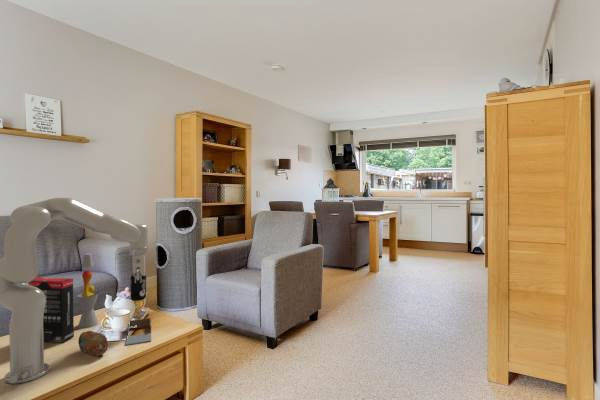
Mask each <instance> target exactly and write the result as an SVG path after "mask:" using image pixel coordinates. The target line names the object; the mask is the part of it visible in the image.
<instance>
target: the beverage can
mask: <svg viewBox="0 0 600 400" xmlns="http://www.w3.org/2000/svg"><path fill="white" fill-rule="evenodd" d="M139 276H141V275H139ZM139 278H140V277H139ZM141 282H142V291H138V292H134V283H135V277H134V276H133V273H131V276H130V297H129V299H130V300H131V301H134V302H140V301H143V300H145V299H146V297H147V275H146V274H145V276H143V275H142V277H141Z"/></svg>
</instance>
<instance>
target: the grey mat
mask: <svg viewBox="0 0 600 400" xmlns="http://www.w3.org/2000/svg"><path fill="white" fill-rule="evenodd" d="M128 336H129V338H128V339H127V338H126V339H127V340H125V346H131V345H132V346H133V345H138V344H143V343H151V342H152V332H151V333H150V332H148V333H140V334H135V335H128Z"/></svg>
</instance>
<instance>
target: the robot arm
mask: <svg viewBox="0 0 600 400" xmlns="http://www.w3.org/2000/svg"><path fill="white" fill-rule="evenodd" d="M57 219H58V220H63V221H66V222H69V223H70V224H71V223H72V224H73V225H76V226H79V227H81V228H83V229H84V230H85V229H86V230H88V231H91V232H95V233H101V234H105V235H106V234H107V235H109V236H110V238H111V240H113V241H115V242H118V243H127V244H128V243H129V255H130V256H132V274H133V276H134V277H135V283H134V292H138V291H142V282H141V277H142V275H143V276H145V275H146V255H148V246H149V245H148V236H149V235H148V231H149V229H148V226H147V224H141V223H140V224H139V223H138V224H133V223H131V222H128V221H126V220H123V219H121V218H119V217H115V216H113V215H110V214H108V213H105V212H102V211H100V210H98V209H95V208H93V207H91V206H89V205H87V204H85V203H82V202H80V201H78V200H76V199H74V198H71V197H55V198H54V197H53V198H49V199H46V200H42V201H39V202H38V201H37V202H34V203H28V204H25V205H21V206H18V207H17V208H14V210H13V211H12V212H11V214H10V217H9V220H10V222H11V225H10V227H8V229H7V231H6V233H5V235H4V236H5V237H4V241H3V246H4V247H3V248H4V256H3V257H1V258H0V305H1V306H2V308H5V309H6V310H9V311H11V316H10V320H9V328H8V330H9V331H8V335H9V372H7V373H5V375H4V377H3V380H4V381H3V382H5V383H6V384H11V385H13V384H14V385H15V384H22V383H27V382H31V381H33V380H36V379H38V378H41V377H43V376H44V375H45V374H47V373H48V372H49V370H50V364H48V363H46V362H45V351H44V350H45V348H44V347H45V345H44V344H45V342H44V330H43V316H44V309H45V303H46V298H45V295H44V293H43V292H42V291H41V290H40V289H39V288H37V287H34V286H31V285H28V282H31V281H32V280H34V279H35V278H37V276H38V273H39V265H38V257H37V256H38V255H37V250H36V249H37V248H36V247H37V246H36V241H37V237H38V235H39V234H40V232H42V230H44V229H45V228H46V227H47V226H48V225H49V224H50V223H51V221H54V220H57ZM139 275H141V276H139ZM139 277H140V278H139Z"/></svg>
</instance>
